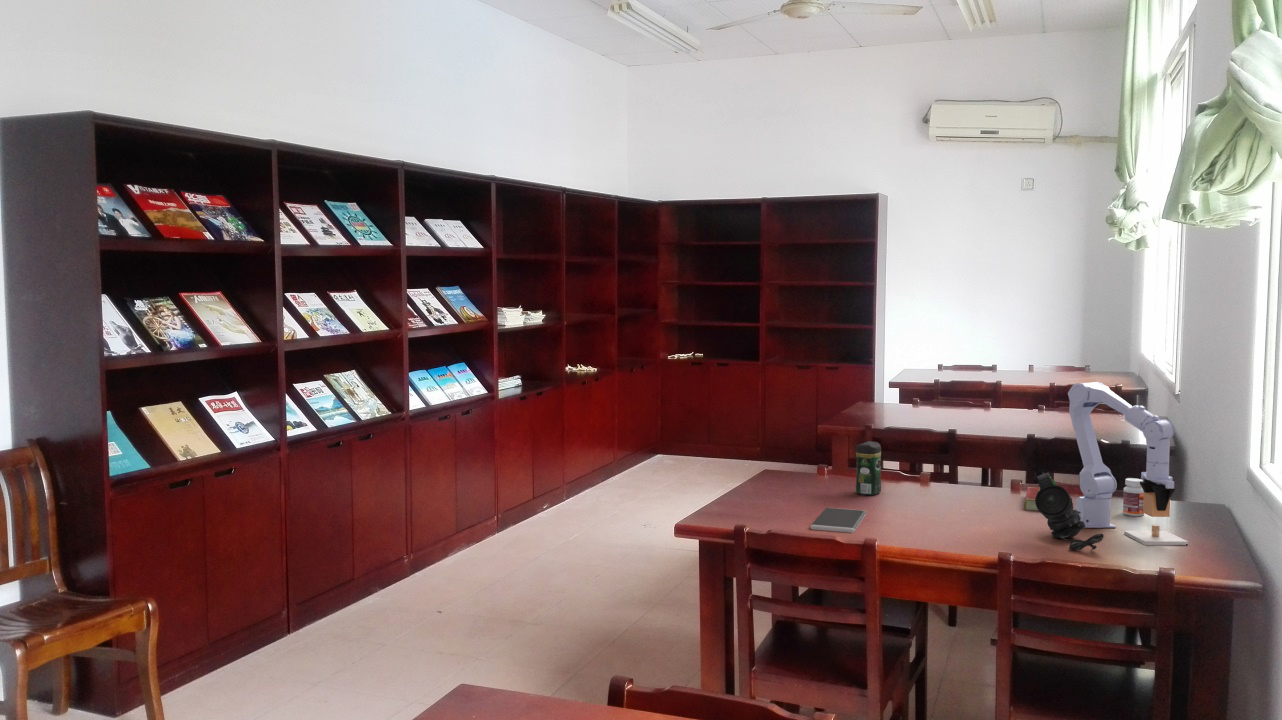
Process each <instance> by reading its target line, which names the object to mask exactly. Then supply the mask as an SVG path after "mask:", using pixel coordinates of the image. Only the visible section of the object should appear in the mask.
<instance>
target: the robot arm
mask: <svg viewBox="0 0 1282 720" xmlns="http://www.w3.org/2000/svg"><path fill="white" fill-rule="evenodd" d="M1067 395H1068V400H1069V407H1068V408H1069V410H1068V411H1069V417H1070V420H1071V424H1072V427H1073V431H1074V436H1075V439H1076V443H1077V446H1078V450H1079V454H1080V457H1081V460H1082V461H1081V462H1082V465H1083V468H1082V469H1081V471H1080V472H1079V478H1080V480H1079V481H1080V482H1079V488H1080V490H1081V491H1080V492H1082V494H1083V496H1078V497H1077V498H1076V499H1075V503H1074V507H1075V509H1074V510H1077V511H1078V512H1079V516H1080V517H1081V519H1080V521H1083V522H1084V523H1085V528H1084V529H1086V528H1087V529H1088V528H1089V529H1091V528H1098V529H1101V528H1102V529H1103V528H1105V529H1106V528H1108V529H1109V528H1112V529H1115V528H1117V526H1116V525H1115V524H1112V523H1111V509H1112V507H1111V505H1112V504H1111V502H1112V501H1111V500H1112V497H1113V493H1114V492H1115V491H1116V490H1117V485H1118V483H1117V480H1116V478H1115V477H1114V476H1113V473H1112V471H1111V469H1110V468H1109V467H1108V466H1107V465H1106V464H1105V463H1104V462H1103V458H1102V455H1101V452H1100V447H1099V444H1098V441H1097V437H1096V433H1095V429H1094V425H1093V422H1092V418H1091V413H1092V412H1093V410H1094V409H1095V408H1096V407H1097V406H1098V405H1099V404H1100V403H1102V404H1104V405H1106V406H1108V407H1109V408H1112V409H1113V410H1115V411H1117V412H1118V413H1120V414H1122V415H1123V416H1124V419H1125V422H1127V423H1129V424H1130V425H1132V426H1133V427H1135V428H1136V429H1137V430H1139V431H1140V432H1142V434H1143V437H1144V438H1145V440H1146V442H1145V444H1146V445H1147V446H1146V448H1147V449H1146V468H1145V469H1146V471H1142V472H1141V474H1140V479H1141V480H1143V481H1140V485H1141V487H1142V489H1143V491H1144V493H1155V497H1156V507H1157V510H1158V511H1166V508H1167V505H1168V502H1169V499H1170V500H1171V497H1172V495H1173V494H1174V493H1175V491H1176V488H1175V481H1174V480H1173V479H1174V478H1173V476H1170V447H1171V446H1170V445H1171V443H1170V442H1171V439H1172V438H1173V437H1174V436H1175V432H1176V428H1175V426H1174V424H1173V423H1172V422H1171V421H1170V420H1169V419H1166V418H1164V419H1162V418H1161V419H1160V418H1159V415H1157V414H1155V415H1154V414H1153V413H1152V412H1150V411H1148V410H1146V406H1144V405H1133V406H1132V404H1130V403H1129V402H1127V401H1126V400H1125V399H1124V398H1122V397H1121V396H1119V395H1118V394H1116V393H1115V392H1114V391H1112V390H1111V389H1110V387H1109V386H1108V385H1105V384H1104V383H1102V382H1101V381H1094V382H1082V383H1081V382H1076V383H1074V384H1073V385H1072V386H1071V387H1070V389H1069V390H1068V392H1067Z"/></svg>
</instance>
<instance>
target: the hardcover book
mask: <svg viewBox="0 0 1282 720" xmlns="http://www.w3.org/2000/svg"><path fill="white" fill-rule="evenodd" d="M1039 490H1040V487H1034V486H1028V487H1027V488H1026V494H1025V498H1024V499H1025V500H1024V510H1031V511H1039V510H1038V509H1037V507H1036V504H1035V498H1036V495H1037V493H1038V492H1039Z"/></svg>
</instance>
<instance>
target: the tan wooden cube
mask: <svg viewBox="0 0 1282 720" xmlns="http://www.w3.org/2000/svg"><path fill="white" fill-rule="evenodd" d="M1143 513H1144V515H1147V516H1150V517H1152V518H1170V516H1171V515H1170V514H1171V498H1170V499H1169V502H1168V505H1167V508H1166V511H1158V510H1157V507H1156V497H1155V493H1144V500H1143Z"/></svg>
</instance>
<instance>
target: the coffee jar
mask: <svg viewBox="0 0 1282 720" xmlns="http://www.w3.org/2000/svg"><path fill="white" fill-rule="evenodd" d="M855 455H856V479H855V480H856V481H855V493H856V494H858V495H861V496H875V495H876V496H877V495H878V494H880V493H881V492H882V477H881V476H882V473H881V472H882V471H881V470H882V467H881V459H882V458H881V457H882V447H881V444H880V443H879V442H878V441H869V440H868V441H865V442H864V443H859V444H858V445H856V447H855Z"/></svg>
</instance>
